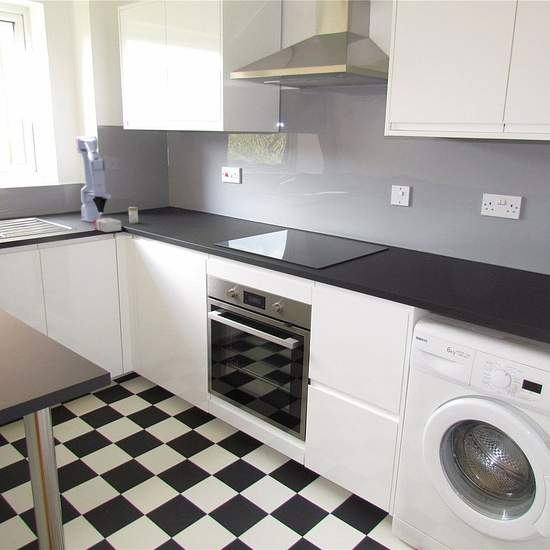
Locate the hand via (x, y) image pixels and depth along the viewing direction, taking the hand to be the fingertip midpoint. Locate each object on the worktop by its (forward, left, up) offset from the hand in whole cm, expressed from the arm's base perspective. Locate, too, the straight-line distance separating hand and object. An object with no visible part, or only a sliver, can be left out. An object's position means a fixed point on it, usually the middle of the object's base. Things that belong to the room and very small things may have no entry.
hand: (100, 212), depth 262 cm
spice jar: (0, +20, -8) cm, 22 cm away
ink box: (+1, 0, -6) cm, 6 cm away
